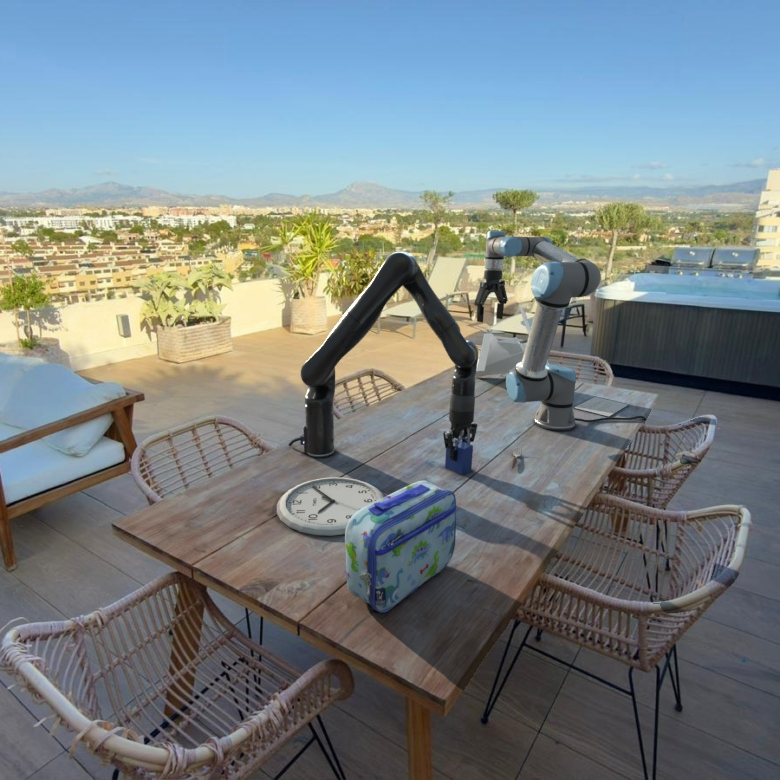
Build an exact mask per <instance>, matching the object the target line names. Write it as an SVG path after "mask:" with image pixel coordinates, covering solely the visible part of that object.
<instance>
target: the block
mask: <svg viewBox="0 0 780 780" xmlns="http://www.w3.org/2000/svg"><path fill="white" fill-rule="evenodd" d="M454 439H455V440H457V439H456V438H454ZM453 446H455V442H454V443H453ZM473 453H474V445H473V444H471V443H470V444H468V443H465V442H463V441H462V440H461V442H460V444H459V445H458V448H457V461H452V460H451V459H450V449H447V448H445V460H444V463H445V464H444V467H445V469H447V470H450V471H451V472H454V473H457V474H459V475H461V476H462V475H465V474H468V472H471V471H472V467H473Z"/></svg>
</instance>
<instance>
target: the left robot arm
mask: <svg viewBox="0 0 780 780" xmlns="http://www.w3.org/2000/svg"><path fill="white" fill-rule="evenodd" d="M402 287H403V288H404V289H405V290H406V292H408V293H409V294H410V296H411V297H412V298H413V300H414V301H415V303H416V305H417V306H418V308H419V311H420V312H421V314H422V316H423V318H424V320H425V322H426V323H427V325H428V326H429V328H430V329H431V330H432V332H433V333H434V334H435V336H436V337H437V338H438V339H439V341H440V342H441V344H442V347H443V349H444V351H445V352H446V354H447V356H448V358H449V359H450V361H451V362H452V363H453V364H454V372H453V375H452V377H451V387H450V388H451V391H450V398H449V410H448V411H449V413H448V421H449V422H450V427H449V430H448V431H443V433H442V435H443V442H444V448H445V449H446V448H447V449H450V459H451V460H452V461H457V448H458V445H459V444H460V442H461V441H463V442H465V443H468V444H471V443H473V442H475V438H476V434H477V429H478V423H476V422H474V420H475V406H476V396H475V395H476V393H475V392H476V377H475V374H476V369H477V363H478V359H479V349H478V348H479V347H478V346H477V345H476V343H475V342H473V341H471V340H466V338H465V337H464V336H463V334H462V333H461V327H460V325H459V324H458V322H457V320H456V319H455V318H454V317H453V315H452V314H451V313H450V311H449V310H448V309H447V307H446V306H445V305H444V304H443V302H442V301H441V300H440V298H439V296H438V295H437V294H436V293H435V291H434V290H433V288H432V287H431V285H430V283H429V282H428V280H427V278H426V276H425V275H424V273H423V271H422V268H421V267H420V265H419V262H418V261H417V258H416V257H415V256H414V255H413V254H411V253H409V252H406V251H395V252H393V253H391V254H389V255H388V256H387V257H386V258H385V260H384V261H383V262H382V264H381V266H380V267H379V269H378V271H377V272H376V274H375V276H374V277H373V278H372V280H371V281H370V283H369V284H368V286H367V287H365V289H364V290H363V291H362V292H361V293H360V294H359V296H357V298H356V299H355V300H354V301H353V302H352V303H351V305H349V307H348V308H347V309H346V310H345V311H344V313H343V314H342V316H341V317H340V318H339V320H338V321H337V322H336V323H335V325H334V326H333V328H332V329H331V330H330V332H329V334H328V335H327V337H326V339H325V340H324V342H323V343H322V344H321V345H320V346H319V347H318V349H317V350H316V351H315V352H314V353H313V354H312V355H310V357H309V358H308V359H306V361H304V363H303V364H302V366H301V368H300V379H301V381H302V382H303V384H304V385H305V386H307V390H306V393H305V395H304V413H305V414H304V415H305V416H304V417H305V425H304V426H303V429H302V430H303V434H302V435H300V437H295V438H294V439H292V440H291V441H290V442H289V443H288V446H289V447H292V446H293V444H294V443H296V442H299V441H300V446H303V453H304V454H305V455H308V456H309V457H312V458H327V457H329V456H332V455H333V454H335V440H336V436H335V424H334V423H335V421H334V419H335V418H334V413H335V412H334V398H335V394H336V366H337V365H338V364H339V363H340V361H341V360H342V359H343V358H344V357H345V356H347V354H348V353H349V352H351V351H352V350H353V349H354V348H355V347H356V346H357V345H358V344H359V343H360V342H361V341H362V340H363V339H364V338H365V337H366V336H367V335H368V333H369V332H370V331H371V329H372V328H373V327H374V326H375V324H376V323H377V321H378V320H379V318H380V316H381V315H382V312H383V310H384V309H385V306H386V305H387V303H388V302H389V301H390V299H392V297H393V296H394V295H395V294H396V293H397V292H398V291H400V289H401V288H402ZM455 439H457V440H455ZM454 442H455V446H453V443H454Z"/></svg>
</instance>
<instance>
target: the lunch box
mask: <svg viewBox="0 0 780 780" xmlns="http://www.w3.org/2000/svg"><path fill="white" fill-rule="evenodd" d="M456 531H457V499H456V495H455V493H454V492H453V490H450V489H442V488H440V487H439V486H437V485H435V484H433V483H432V482H430V481H428V480H418V481H416V482H413V483H410V484H409V485H406V486H405V487H402V488H400V489H398V490H396V491H394V492H392V493H390V494H388V495H385V497H384V498H382V499H380V500H378V501H376V502H374V503H372V504H370V505H368V506H366V507H364V508H362V509H360V510H358V511H357V512H355V513H354V514H353V515H352V517H351V518H350V520H349V522H348V524H347V527H346V531H345V534H344V552H345V577H346V578H345V580H346V586H347V589H348V592H349V593H350V594H352V595H354V596H356V597H357V598H359V599H361V600H363V602H365V603H367V604H368V605H370V607H371V608H372V609H373V610H375V611H376V612H378V613H380V614H382V613H383V614H385V613H387V612H389V611H391V609H393V608H394V607H395V606H396V605H397V604H400V602H401V601H402V600H404V599H406V597H409V596H410V595H411V594H412V593H414V592H415V591H416V590H417V589H418V588H420V587H421V586H422V585H423V584H424V583H425V582H427V581H428V580H430V579H432V578H433V577H434V576H436V575H437V574H439V573H441V572H442V571H443V570H445V568H446V567H447V566H448V564H449V563H450V561H451V560H452V557H453V554H454V551H455V548H456V547H455V546H456Z"/></svg>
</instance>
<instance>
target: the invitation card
mask: <svg viewBox="0 0 780 780" xmlns="http://www.w3.org/2000/svg"><path fill="white" fill-rule="evenodd" d="M628 406H629V404H627V403H623V402H618V401H614V400H609V399H605V398H601V397H596V396H593V397H592V398H590V399H588V400H586V401H584V402H582V403H580V404H578V405H575V406H574V407H573V409H575V410H581V411H584V412H587V413H593V414H596V415H600V416H604V417H607V418H610V417H612V416H613V415H614V414H616V413H617V412H619V411H621V410H623V409H624V408H626V407H628Z"/></svg>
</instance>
